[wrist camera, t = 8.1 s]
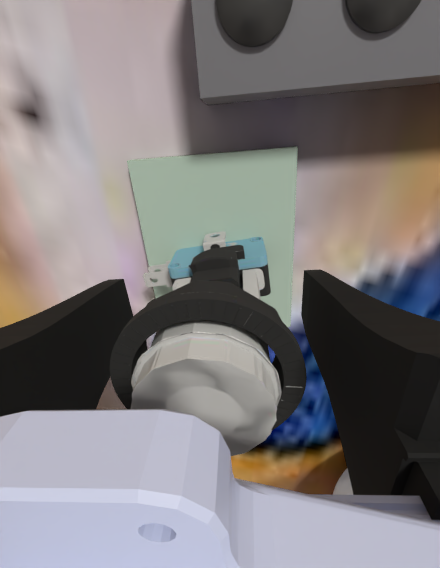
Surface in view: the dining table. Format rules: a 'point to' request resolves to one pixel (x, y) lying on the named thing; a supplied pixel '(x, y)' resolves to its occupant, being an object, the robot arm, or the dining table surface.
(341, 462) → the dining table surface
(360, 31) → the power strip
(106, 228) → the dining table surface
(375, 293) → the dining table surface
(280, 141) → the dining table surface
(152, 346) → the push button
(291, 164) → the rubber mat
